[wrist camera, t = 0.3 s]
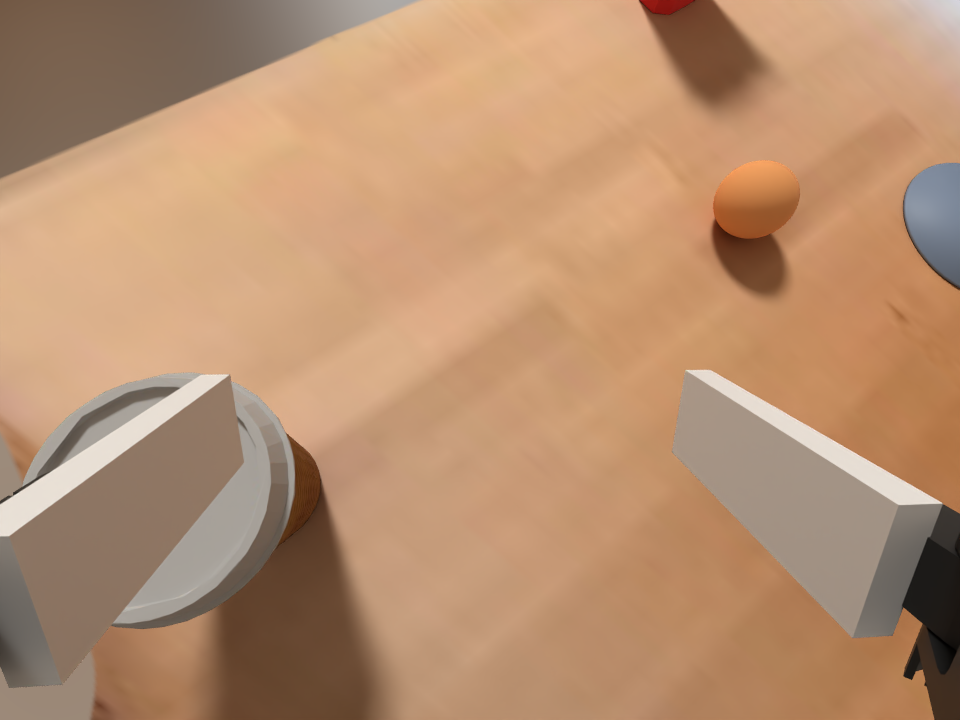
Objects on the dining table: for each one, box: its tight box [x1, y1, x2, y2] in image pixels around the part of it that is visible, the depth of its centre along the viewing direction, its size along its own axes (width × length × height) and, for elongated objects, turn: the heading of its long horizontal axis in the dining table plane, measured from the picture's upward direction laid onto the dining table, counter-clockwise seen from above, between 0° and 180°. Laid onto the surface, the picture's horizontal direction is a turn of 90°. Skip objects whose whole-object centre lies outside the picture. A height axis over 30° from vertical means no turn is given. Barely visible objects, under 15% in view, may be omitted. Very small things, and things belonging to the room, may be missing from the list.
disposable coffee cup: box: [22, 373, 320, 629], centre depth 22 cm, size 10×10×12 cm
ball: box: [713, 160, 800, 239], centre depth 34 cm, size 6×6×6 cm
